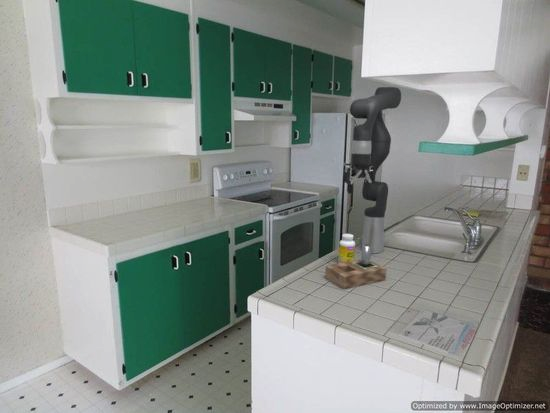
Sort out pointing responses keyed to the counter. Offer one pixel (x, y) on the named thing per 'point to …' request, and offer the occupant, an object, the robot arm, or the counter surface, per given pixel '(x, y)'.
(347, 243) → the supplement bottle
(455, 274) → the counter surface
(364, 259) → the pin
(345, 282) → the bore block
